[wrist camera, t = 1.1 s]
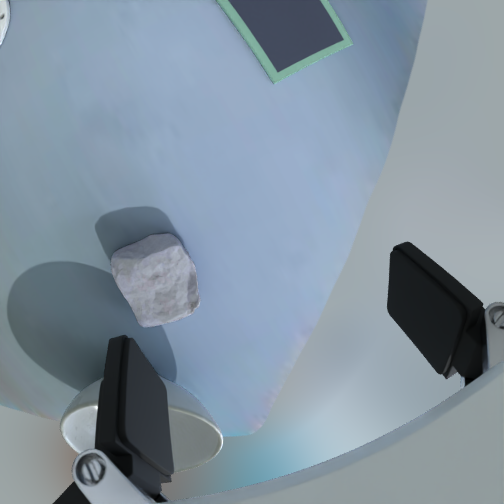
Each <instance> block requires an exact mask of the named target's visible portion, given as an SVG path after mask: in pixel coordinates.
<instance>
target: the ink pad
mask: <svg viewBox="0 0 504 504" xmlns="http://www.w3.org/2000/svg"><path fill="white" fill-rule="evenodd" d="M216 1H217V3H218V4H219V5H220V7H221V8H222V9H223V11H224V12H225V13H226V15H227V16H228V17H229V19H230V20H231V22H232V23H233V24H234V26H235V27H236V28H237V30H238V31H239V33H240V34H241V36H242V37H243V38H244V40H245V41H246V43H247V44H248V46H249V47H250V49H251V50H252V52H253V53H254V55H255V56H256V58H257V59H258V61H259V62H260V64H261V65H262V67H263V68H264V70H265V72H266V73H267V75H268V76H269V78H270V79H271V81H272V83H273V84H276V83H277V82H279V81H281V80H283V79H285V78H286V77H288V76H290V75H292V74H294V73H296V72H297V71H299V70H301V69H303V68H305V67H307V66H309V65H311V64H313V63H315V62H317V61H319V60H321V59H323V58H325V57H327V56H329V55H331V54H333V53H335V52H337V51H340V50H342V49H344V48H346V47H348V46H350V45H353V43H352V41H351V39H350V37H349V35H348V34H347V32H346V30H345V28H344V26H343V25H342V23H341V21H340V20H339V18H338V16H337V15H336V13H335V11H334V10H333V8H332V7H331V5H330V3H329V2H328V0H216Z"/></svg>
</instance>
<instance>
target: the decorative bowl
mask: <svg viewBox="0 0 504 504" xmlns="http://www.w3.org/2000/svg"><path fill="white" fill-rule="evenodd" d="M158 376H159V377H160V378H161V380H162V381H163V382H164V384H165V386H166V389H167V399H168V412H169V424H170V435H171V445H172V454H173V462H174V473H175V472H181V471H185V470H189V469H192V468H195V467H198V466H200V465H202V464H204V463H206V462H208V461H210V460H211V459H212V458H214V457H215V456H216V455H217V454H218V453H219V451H220V449H221V448H222V445H223V436H222V433H221V431H220V429H219V427H218V425H217V423H216V422H215V420H214V418H213V417H212V416H211V414H210V413H209V412H208V410H207V409H206V408H205V407H204V406H203V404H202V403H201V402H200V401H199V400H198V399H197V398H195V397H194V396H193V395H192V394H191V393H189V392H188V391H187V390H185V389H184V388H182V387H181V386H179V385H177V384H175V383H173V382H171V381H169V380H167V379H165V378H163V377H162V376H160V375H158ZM103 379H104V378H102V379H99V380H97V381H95V382H93V383H92V384H90V385H89V386H87V387H86V388H84V389H83V390H82V391H81V392H80V393H79V394H78V395H77V396H76V397H75V398H74V399H73V400H72V402H71V403H70V404H69V406H68V407H67V409H66V410H65V412H64V414H63V416H62V419H61V422H60V431H61V434H62V436H63V438H64V440H65V441H66V443H67V444H68V445H69V446H70V447H71V448H72V449H74V450H75V451H76V452H77V453H79V454H80V453H81V452H83V451H84V450H87V449H95V432H96V419H97V409H98V399H99V390H100V384H101V381H102V380H103Z"/></svg>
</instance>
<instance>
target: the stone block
mask: <svg viewBox="0 0 504 504" xmlns="http://www.w3.org/2000/svg"><path fill="white" fill-rule="evenodd" d="M110 265H111V272H112V274H113V276H114V279H115V282H116V284H117V286H118V287H119V289H120V291H121V293H122V294H123V296H124V297H125V298H126V300H127V301H128V302H129V304H130V306H131V308H132V310H133V312H134V314H135V317H136V319H137V322H138V323H139V325H140V326H142V327H154V326H158V325H161V324H165V323H169V322H173V321H177V320H180V319H182V318H184V317H187V316H189V315H191V314H193V313H194V310H195V309H196V308H198V307H199V303H200V295H199V292H198V281H197V274H196V269H195V265H194V262H193V261H192V260H191V257H190V255H189V253H188V251H187V250H186V249H185V248H184V247H183V246H182V244H181V242H180V240H179V239H178V238H177V237H176V236H173V235H172V234H170V233H166V234H158V235H149V236H148V237H146V238H144V239H142V240H140V241H138V242H136V243H134V244H130V245H128V246H126V247H123V248H121V249H119V250H117V251H115V252H114V253H113V256H112V257H111V264H110Z"/></svg>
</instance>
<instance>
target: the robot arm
mask: <svg viewBox="0 0 504 504" xmlns="http://www.w3.org/2000/svg"><path fill="white" fill-rule="evenodd" d="M9 19H10V5H9V2H8V0H0V45H1V44H2V41H3V39H4V37H5V35H6V31H7V28H8V25H9ZM387 309H388V313H389V314H390V316H391V317H392V318H393V319H394V321H395V322H396V323H397V324H398V325H399V326H400V328H401V329H402V330H403V331H404V332H405V334H406V335H407V336H408V337H409V338H410V340H411V341H412V342H413V343H414V344H415V346H416V347H417V348H418V349H419V351H420V352H421V353H422V354H423V356H424V357H425V358H426V359H427V361H428V362H429V363H430V364H431V366H432V367H433V368H434V369H435V371H436V372H437V373H438V374H443V376H444V377H445V378H446V379H448V378H449V377H451V376H452V375H454V374H455V373H457V372H458V373H459V374H460V375H461V385H460V391H458V392H457V393H455V394H454V395H452V396H451V397H449V398H448V399H446V400H445V401H443V402H441V403H440V404H438V405H437V406H435V407H434V408H432V409H430V410H429V411H427V412H425V413H424V414H422V415H420V416H418V417H417V418H415V419H413V420H411V421H410V422H408V423H406V424H404V425H402V426H401V427H399V428H397V429H395V430H393V431H391V432H390V433H387V434H385V435H383V436H381V437H379V438H377V439H375V440H373V441H371V442H369V443H367V444H365V445H363V446H360V447H359V448H356V449H354V450H351V451H349V452H347V453H344V454H342V455H340V456H338V457H335V458H332V459H330V460H327V461H325V462H322V463H320V464H317V465H314V466H311V467H309V468H306V469H303V470H300V471H297V472H294V473H291V474H288V475H285V476H282V477H279V478H275V479H272V480H268V481H265V482H261V483H257V484H253V485H250V486H246V487H241V488H237V489H233V490H228V491H224V492H219V493H214V494H209V495H204V496H199V497H193V498H187V499H180V500H174V501H171V500H170V499H169V498H167V497H166V496H165V495H164V494H163V493H162V492H161V491H162V489H161V483H167V482H171V474H173V473H174V462H173V454H172V445H171V435H170V424H169V412H168V399H167V389H166V386H165V384H164V382H163V381H162V380H161V378H160V377H159V376H158V374H157V373H156V371H155V370H154V368H153V367H152V366H151V364H150V363H149V361H148V360H147V358H146V357H145V355H144V354H143V352H142V351H141V349H140V348H139V346H138V345H137V343H136V342H135V340H134V339H133V338H128V337H127V336H126V335H122V336H119V337H115V338H111V339H110V340H109V344H108V350H107V357H106V364H105V371H104V379H103V380H102V381H101V384H100V390H99V399H98V409H97V419H96V432H95V449H87V450H84V451H83V452H81V453H80V454H79V455H78V456H77V457H76V458H75V460H74V462H73V465H72V476H73V479H74V482H73V483H72V484H71V485H70V486H69V487H68V488H67V489H66V490H65V491H64V493H62V495H61V496H60V497H59V498H58V499H57V500H56V501H55V502H54V503H53V504H504V303H502V302H495V303H492V304H490V305H489V306H488V307H487V308H486V309H484V308H483V303H482V302H481V301H480V300H479V299H478V298H477V297H476V296H475V295H473V294H472V293H471V292H470V291H469V290H468V289H466V288H465V287H464V286H463V285H462V284H461V283H459V282H458V281H457V280H456V279H455V278H454V277H453V276H451V275H450V274H449V273H447V271H445V270H444V269H443V268H442V267H441V266H439V265H438V264H437V263H436V262H434V261H433V260H432V259H431V258H429V257H428V256H427V255H426V254H424V253H423V252H422V251H421V250H419V249H418V248H417V247H416V246H414V245H413V244H412V243H410V242H404V243H402V244H399V245H396V246H395V247H394V248H393V251H392V252H391V253H390V268H389V286H388V301H387Z"/></svg>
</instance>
